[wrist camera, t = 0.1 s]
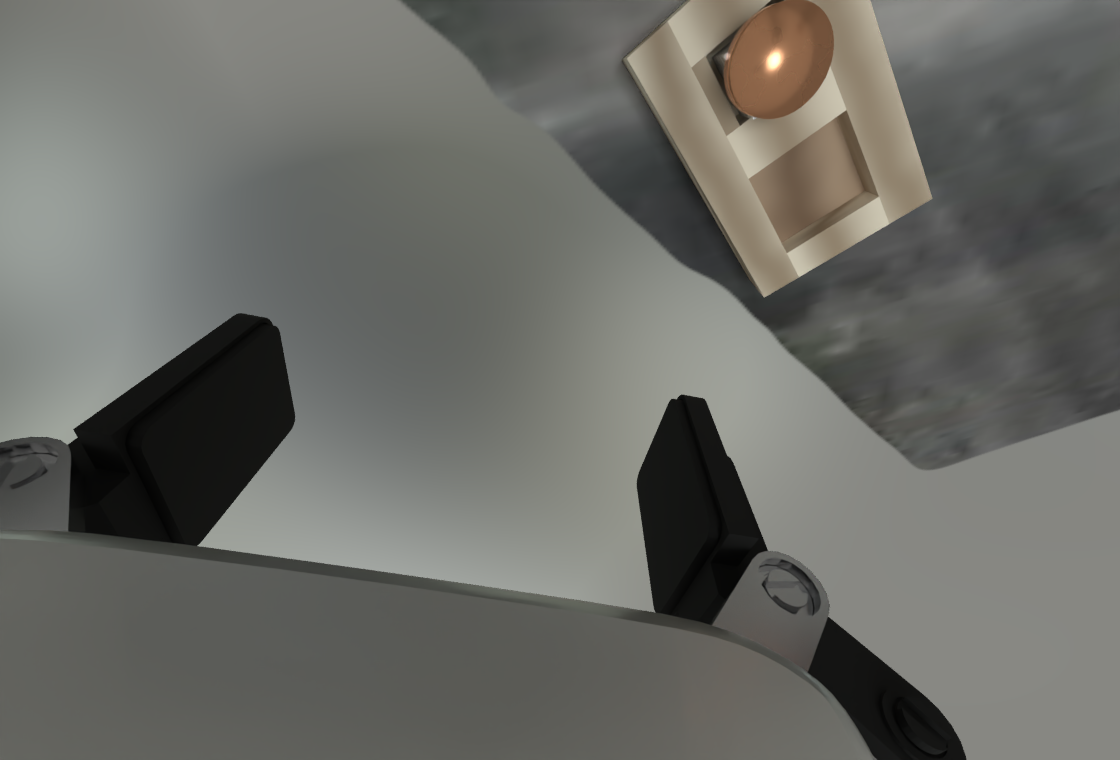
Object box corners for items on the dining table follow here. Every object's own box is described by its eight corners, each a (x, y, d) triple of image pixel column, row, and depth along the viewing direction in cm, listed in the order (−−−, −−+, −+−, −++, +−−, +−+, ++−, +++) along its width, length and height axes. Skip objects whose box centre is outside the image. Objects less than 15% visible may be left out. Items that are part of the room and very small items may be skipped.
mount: (800, -104, 27) (830, -127, 24) (900, 186, 36) (932, 198, 33) (621, 59, 32) (626, 58, 29) (749, 279, 41) (764, 297, 38)
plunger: (779, -16, 27) (811, -30, 23) (814, 72, 29) (848, 72, 26) (696, 54, 29) (713, 52, 25) (735, 132, 31) (756, 140, 28)
